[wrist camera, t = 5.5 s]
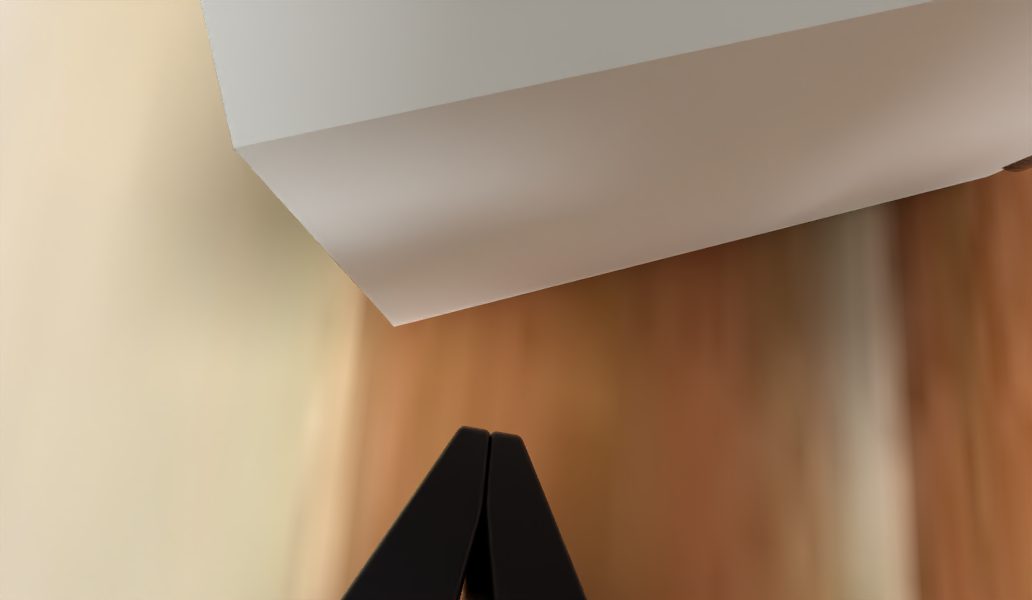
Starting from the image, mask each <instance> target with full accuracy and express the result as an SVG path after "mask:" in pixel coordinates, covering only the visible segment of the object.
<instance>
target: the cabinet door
mask: <svg viewBox="0 0 1032 600" xmlns="http://www.w3.org/2000/svg"><path fill="white" fill-rule="evenodd" d="M200 1H201V5H202V10H203V14H204V19H205V23H206V28H207V32H208V37H209V41H210V46H211V50H212V55H213V59H214V64H215V68H216V73H217V77H218V82H219V86H220V91H221V95H222V100H223V104H224V109H225V113H226V118H227V122H228V127H229V131H230V136H231V140H232V145H233V148H234V150H235V151H236V152H237V153H238V154H239V155H240V156H241V157H242V158H243V160H244V161H245V162H246V163H247V164H248V165H249V166H250V167H251V168H252V170H253V171H254V172H255V173H256V174H257V175H258V176H259V177H260V178H261V180H262V181H263V182H264V183H265V184H266V185H267V186H268V187H269V188H270V190H271V191H272V192H273V193H274V194H275V195H276V196H277V197H278V198H279V200H280V201H281V202H282V203H283V204H284V205H285V206H286V207H287V208H288V210H289V211H290V212H291V213H292V214H293V215H294V216H295V217H296V218H297V220H298V221H299V222H300V223H301V224H302V225H303V226H304V227H305V228H306V230H307V231H308V232H309V233H310V234H311V235H312V236H313V237H314V238H315V240H316V241H317V242H318V243H319V244H320V245H321V246H322V247H323V248H324V250H325V251H326V252H327V253H328V254H329V255H330V256H331V257H332V258H333V260H334V261H335V262H336V263H337V264H338V265H339V266H340V267H341V268H342V270H343V271H344V272H345V273H346V274H347V275H348V276H349V277H350V278H351V280H352V281H353V282H354V283H355V284H356V285H357V286H358V287H359V288H360V290H361V291H362V292H363V293H364V294H365V295H366V296H367V297H368V298H369V299H370V301H371V302H372V303H373V304H374V305H375V306H376V307H377V308H378V309H379V311H380V312H381V313H382V314H383V315H384V316H385V317H386V318H387V319H388V321H389V322H390V323H391V324H392V325H393V326H394V327H395V326H399V325H403V324H407V323H411V322H415V321H419V320H423V319H427V318H431V317H435V316H439V315H443V314H447V313H451V312H455V311H459V310H463V309H466V308H470V307H474V306H478V305H482V304H486V303H490V302H494V301H498V300H502V299H506V298H510V297H514V296H518V295H522V294H526V293H530V292H534V291H538V290H542V289H546V288H549V287H553V286H557V285H561V284H565V283H569V282H573V281H577V280H581V279H585V278H589V277H593V276H597V275H601V274H605V273H609V272H613V271H617V270H621V269H625V268H629V267H632V266H636V265H640V264H644V263H648V262H652V261H656V260H660V259H664V258H668V257H672V256H676V255H680V254H684V253H688V252H692V251H696V250H700V249H704V248H708V247H711V246H715V245H719V244H723V243H727V242H731V241H735V240H739V239H743V238H747V237H751V236H755V235H759V234H763V233H767V232H771V231H775V230H779V229H783V228H787V227H791V226H794V225H798V224H802V223H806V222H810V221H814V220H818V219H822V218H826V217H830V216H834V215H838V214H842V213H846V212H850V211H854V210H858V209H862V208H866V207H870V206H874V205H877V204H881V203H885V202H889V201H893V200H897V199H901V198H905V197H909V196H913V195H917V194H921V193H925V192H929V191H933V190H937V189H941V188H945V187H949V186H953V185H957V184H960V183H964V182H968V181H972V180H976V179H980V178H984V177H988V176H990V175H992V174H995V173H997V172H1000V171H1002V170H1007V171H1013V172H1019V171H1023V170H1026V169H1029V168H1031V167H1032V0H200Z"/></svg>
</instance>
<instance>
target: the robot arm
mask: <svg viewBox="0 0 1032 600" xmlns="http://www.w3.org/2000/svg"><path fill="white" fill-rule="evenodd" d="M463 585H464V587H463ZM462 589H463V598H462V600H587V598H586V596H585V593H584V591H583V588H582V586H581V583H580V581H579V578H578V576H577V573H576V571H575V568H574V566H573V563H572V561H571V558H570V556H569V553H568V551H567V549H566V546H565V544H564V541H563V539H562V536H561V534H560V531H559V529H558V526H557V524H556V521H555V519H554V516H553V514H552V511H551V509H550V506H549V504H548V501H547V499H546V497H545V494H544V492H543V489H542V487H541V484H540V482H539V479H538V477H537V474H536V472H535V469H534V467H533V464H532V462H531V459H530V457H529V454H528V452H527V449H526V447H525V445H524V442H523V440H522V439H521V437H519V436H518V435H514V434H508V433H502V432H493V433H492V434H491V435H490V433H489V432H488V431H487V430H485V429H479V428H473V427H468V426H462V427H461V428H459V429H458V430H457V432H456V433H455V435H454V436H453V438H452V439H451V441H450V442H449V443H448V445H447V446H446V448H445V449H444V451H443V452H442V454H441V455H440V456H439V458H438V459H437V461H436V462H435V464H434V465H433V467H432V468H431V469H430V471H429V472H428V474H427V475H426V477H425V478H424V480H423V481H422V483H421V484H420V485H419V487H418V488H417V490H416V491H415V493H414V494H413V496H412V497H411V498H410V500H409V501H408V503H407V504H406V506H405V507H404V509H403V510H402V511H401V513H400V514H399V516H398V517H397V519H396V520H395V522H394V523H393V525H392V526H391V527H390V529H389V530H388V532H387V533H386V535H385V536H384V538H383V539H382V540H381V542H380V543H379V545H378V546H377V548H376V549H375V551H374V552H373V554H372V555H371V556H370V558H369V559H368V561H367V562H366V564H365V565H364V567H363V568H362V569H361V571H360V572H359V574H358V575H357V577H356V578H355V580H354V581H353V582H352V584H351V585H350V587H349V588H348V590H347V591H346V593H345V594H344V596H343V597H342V598H341V600H460V596H461V592H462Z"/></svg>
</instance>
